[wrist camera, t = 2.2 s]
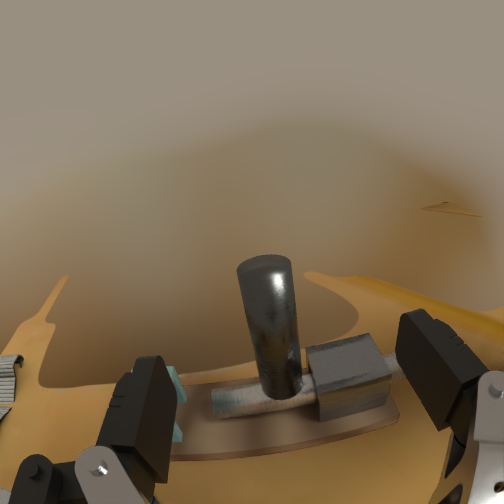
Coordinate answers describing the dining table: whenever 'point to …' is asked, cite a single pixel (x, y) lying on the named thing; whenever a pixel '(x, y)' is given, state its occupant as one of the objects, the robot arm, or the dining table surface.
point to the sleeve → (348, 376)
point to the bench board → (262, 426)
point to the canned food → (4, 496)
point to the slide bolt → (273, 344)
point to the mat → (8, 381)
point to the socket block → (180, 399)
